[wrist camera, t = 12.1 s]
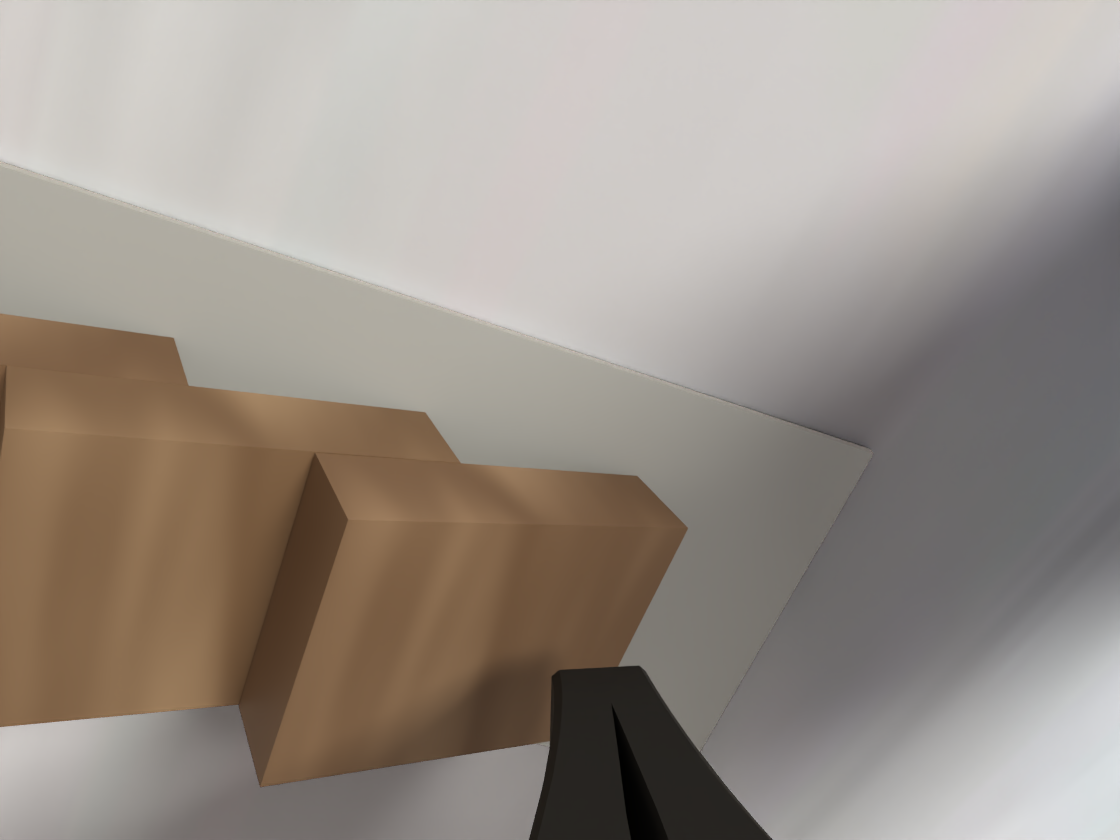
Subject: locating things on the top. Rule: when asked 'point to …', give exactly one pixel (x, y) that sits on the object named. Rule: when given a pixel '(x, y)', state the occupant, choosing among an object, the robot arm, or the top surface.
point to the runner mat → (461, 405)
